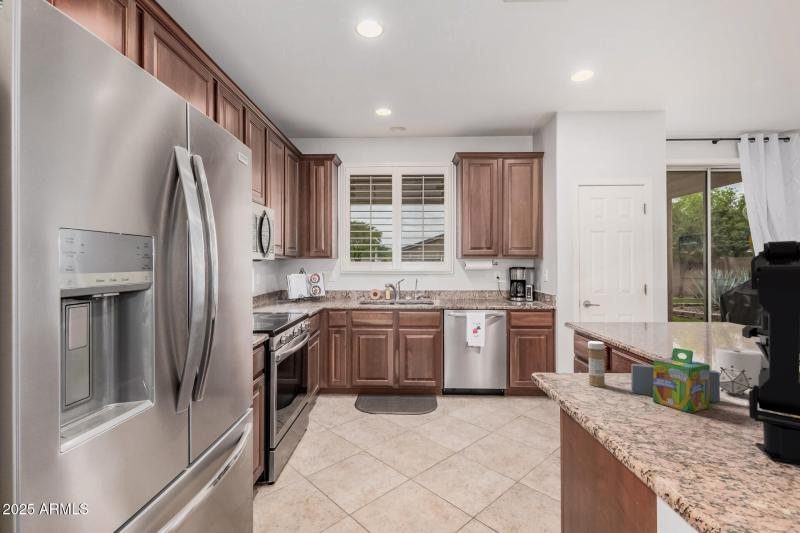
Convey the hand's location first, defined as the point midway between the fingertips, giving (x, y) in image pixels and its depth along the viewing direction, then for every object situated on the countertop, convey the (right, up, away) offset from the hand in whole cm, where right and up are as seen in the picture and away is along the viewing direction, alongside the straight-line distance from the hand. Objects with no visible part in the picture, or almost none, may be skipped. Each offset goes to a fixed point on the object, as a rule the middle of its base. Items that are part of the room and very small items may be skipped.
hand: (780, 376), depth 81 cm
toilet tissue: (+23, -12, +34) cm, 43 cm away
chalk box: (-10, -13, +16) cm, 22 cm away
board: (-7, -12, +22) cm, 26 cm away
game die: (+11, -12, +24) cm, 29 cm away
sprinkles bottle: (-23, -13, +33) cm, 42 cm away
